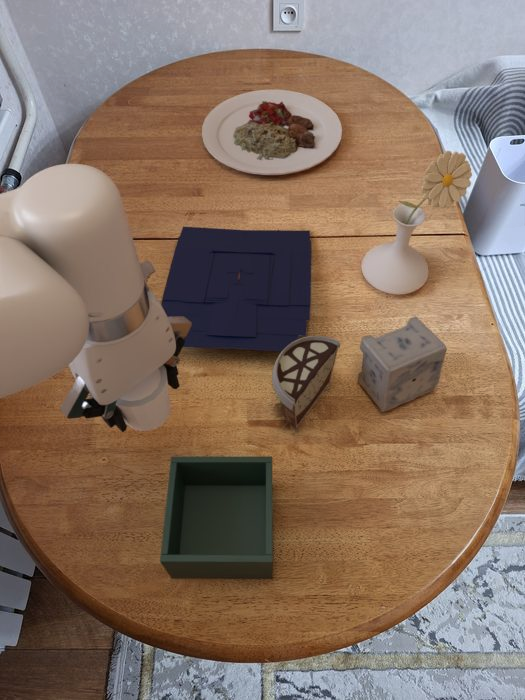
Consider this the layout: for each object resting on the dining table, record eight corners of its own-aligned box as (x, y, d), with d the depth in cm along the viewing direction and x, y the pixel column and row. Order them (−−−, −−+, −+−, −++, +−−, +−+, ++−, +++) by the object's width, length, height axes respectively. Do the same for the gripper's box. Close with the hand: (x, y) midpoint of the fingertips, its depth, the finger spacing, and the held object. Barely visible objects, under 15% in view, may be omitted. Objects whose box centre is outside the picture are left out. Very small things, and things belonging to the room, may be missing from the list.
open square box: (272, 578, 68) (272, 562, 61) (171, 578, 68) (159, 561, 61) (272, 481, 75) (272, 456, 68) (180, 481, 75) (171, 456, 68)
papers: (152, 357, 85) (148, 341, 83) (183, 238, 105) (180, 222, 102) (309, 364, 84) (310, 348, 82) (310, 242, 104) (311, 226, 101)
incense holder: (405, 351, 87) (419, 310, 78) (436, 392, 83) (455, 353, 74) (351, 374, 85) (360, 334, 76) (380, 417, 80) (393, 380, 72)
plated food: (243, 199, 108) (242, 185, 105) (179, 122, 123) (177, 107, 120) (369, 151, 116) (371, 137, 113) (295, 83, 131) (295, 69, 128)
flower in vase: (363, 300, 93) (389, 179, 72) (357, 251, 99) (379, 127, 79) (441, 299, 93) (489, 178, 72) (429, 250, 99) (470, 126, 79)
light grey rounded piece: (152, 374, 67) (141, 341, 62) (188, 410, 64) (180, 379, 59) (105, 408, 65) (89, 377, 59) (140, 447, 62) (127, 418, 56)
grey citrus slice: (301, 357, 87) (304, 318, 78) (334, 376, 85) (341, 338, 76) (255, 414, 81) (253, 379, 73) (290, 436, 79) (292, 402, 71)
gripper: (155, 230, 53) (180, 338, 68) (-6, 334, 46) (60, 429, 61) (207, 270, 50) (221, 374, 65) (43, 388, 43) (101, 475, 58)
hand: (143, 400), depth 63 cm, fingers closed on light grey rounded piece, 6 cm apart
